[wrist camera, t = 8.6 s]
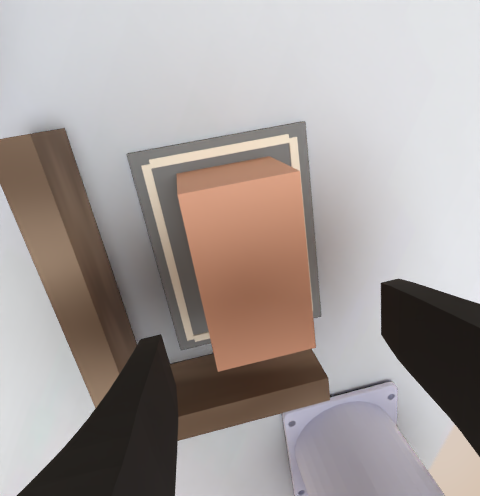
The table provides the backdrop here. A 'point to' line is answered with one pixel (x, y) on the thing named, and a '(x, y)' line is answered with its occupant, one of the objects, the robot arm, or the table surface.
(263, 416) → the corner wall
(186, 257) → the pad
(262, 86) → the table surface
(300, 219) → the terracotta block
